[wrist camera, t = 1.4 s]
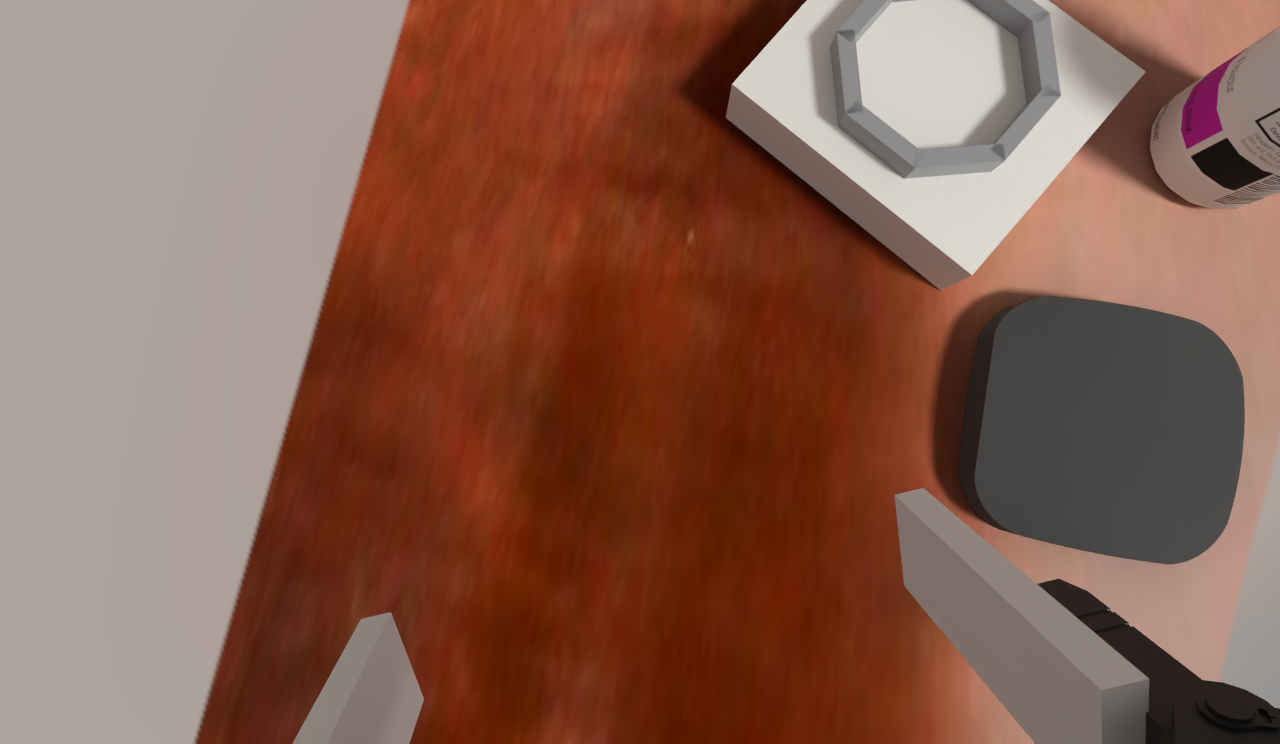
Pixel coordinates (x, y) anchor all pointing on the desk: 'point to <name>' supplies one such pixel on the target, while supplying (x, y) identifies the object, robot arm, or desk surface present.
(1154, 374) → the media streaming box
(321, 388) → the desk surface
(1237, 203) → the supplement can
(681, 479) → the desk surface
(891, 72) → the mount base
